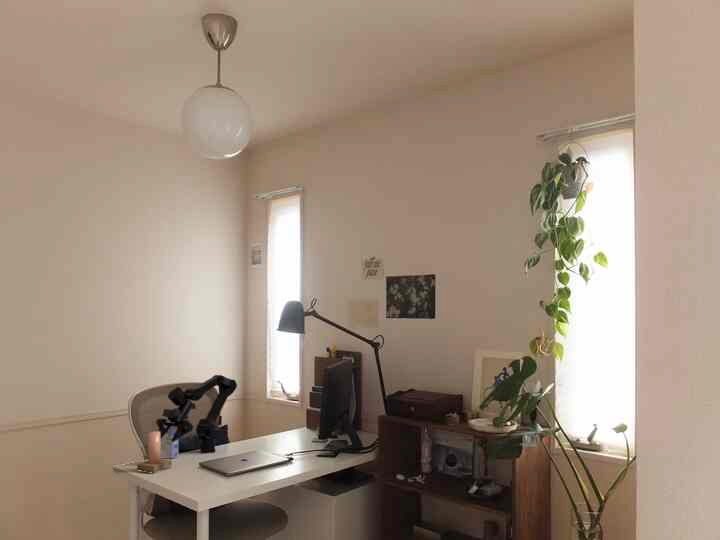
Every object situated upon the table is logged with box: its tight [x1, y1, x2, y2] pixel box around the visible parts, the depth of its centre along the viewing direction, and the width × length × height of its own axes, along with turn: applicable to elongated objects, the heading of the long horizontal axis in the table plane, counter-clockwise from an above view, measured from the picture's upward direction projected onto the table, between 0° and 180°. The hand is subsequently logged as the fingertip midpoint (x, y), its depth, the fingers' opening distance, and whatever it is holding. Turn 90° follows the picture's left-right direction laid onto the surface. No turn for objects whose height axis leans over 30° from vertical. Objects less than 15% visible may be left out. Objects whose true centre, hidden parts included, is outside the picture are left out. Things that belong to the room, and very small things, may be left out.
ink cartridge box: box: [161, 426, 179, 459], centre depth 266 cm, size 10×6×14 cm, turn 79°
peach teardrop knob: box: [147, 430, 162, 464], centre depth 245 cm, size 5×5×13 cm
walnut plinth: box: [136, 458, 172, 474], centre depth 244 cm, size 10×10×3 cm
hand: (164, 441), depth 251 cm, fingers open, 9 cm apart
